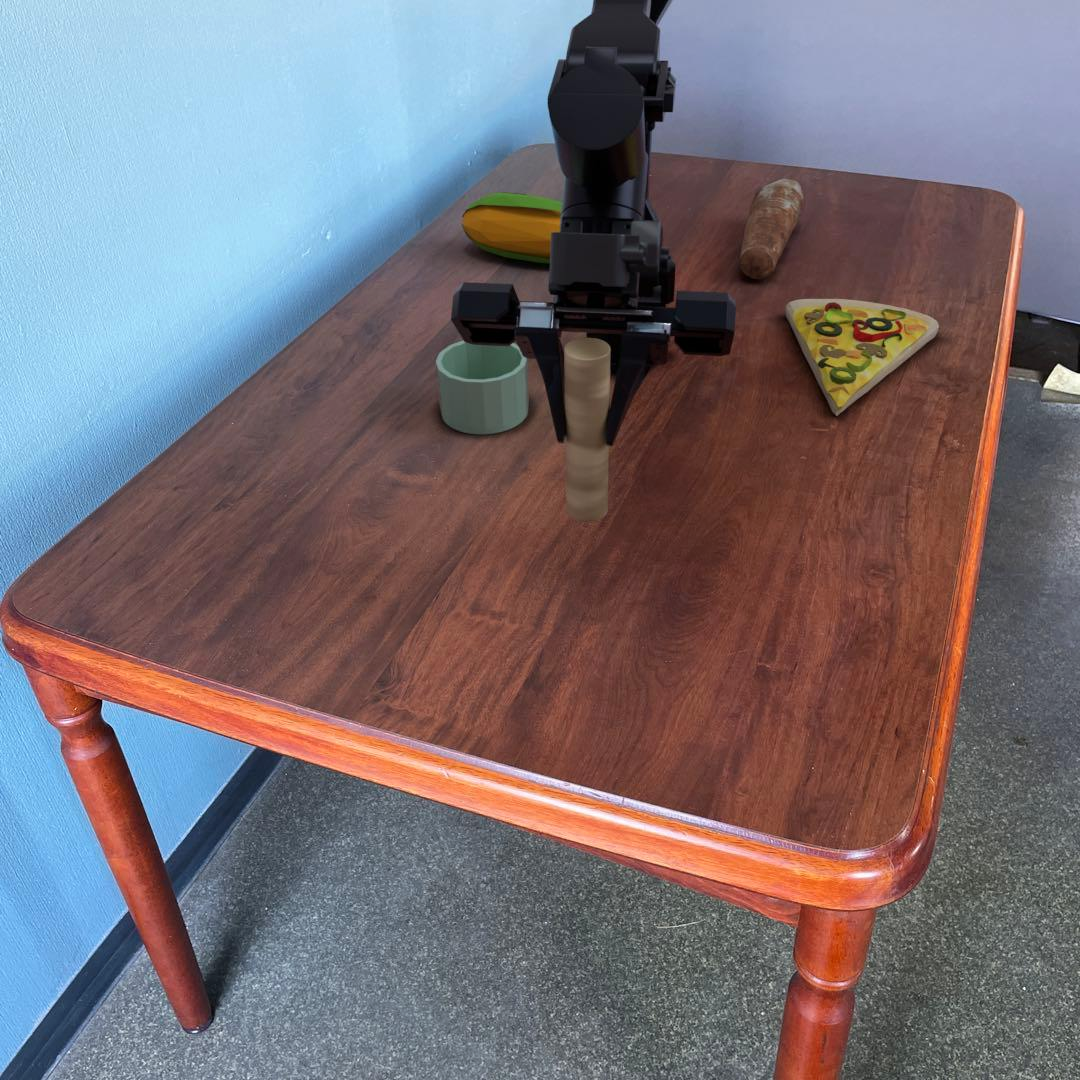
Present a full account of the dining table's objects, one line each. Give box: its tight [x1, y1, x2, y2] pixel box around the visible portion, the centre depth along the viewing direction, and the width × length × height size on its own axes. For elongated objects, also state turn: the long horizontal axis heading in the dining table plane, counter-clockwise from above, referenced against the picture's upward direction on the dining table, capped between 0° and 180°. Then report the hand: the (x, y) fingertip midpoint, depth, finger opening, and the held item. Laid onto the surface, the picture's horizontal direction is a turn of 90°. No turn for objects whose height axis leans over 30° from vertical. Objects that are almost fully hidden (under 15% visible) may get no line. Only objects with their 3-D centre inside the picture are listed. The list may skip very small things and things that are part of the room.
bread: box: [738, 177, 806, 280], centre depth 126 cm, size 6×19×6 cm, turn 160°
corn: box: [461, 191, 562, 265], centre depth 125 cm, size 7×8×20 cm
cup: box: [435, 339, 530, 435], centre depth 99 cm, size 8×8×6 cm
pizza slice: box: [785, 298, 940, 417], centre depth 105 cm, size 16×21×3 cm
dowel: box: [563, 337, 611, 523], centre depth 73 cm, size 3×3×13 cm
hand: (584, 443), depth 72 cm, fingers closed on dowel, 3 cm apart
